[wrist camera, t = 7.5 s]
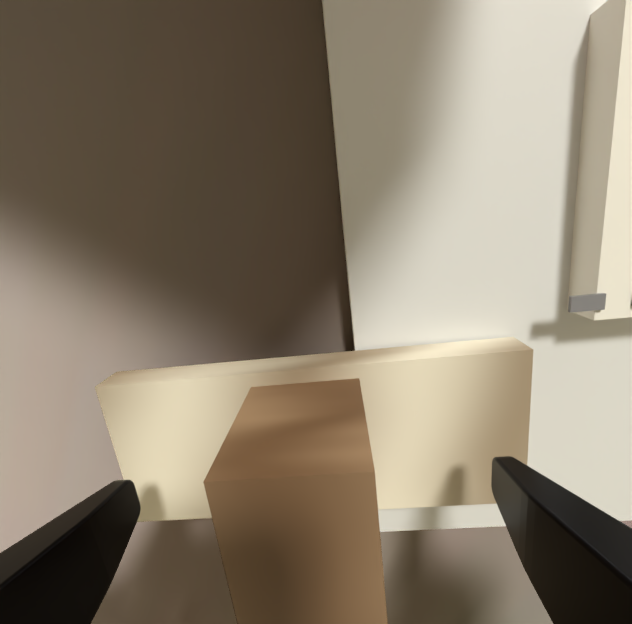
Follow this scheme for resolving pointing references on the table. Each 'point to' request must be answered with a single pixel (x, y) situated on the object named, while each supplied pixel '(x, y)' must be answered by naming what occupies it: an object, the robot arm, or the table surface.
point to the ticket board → (496, 209)
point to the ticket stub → (318, 459)
